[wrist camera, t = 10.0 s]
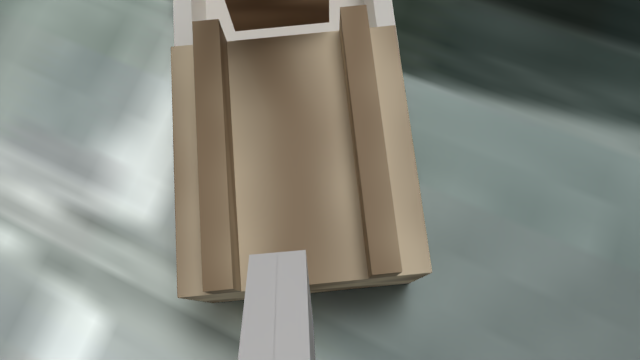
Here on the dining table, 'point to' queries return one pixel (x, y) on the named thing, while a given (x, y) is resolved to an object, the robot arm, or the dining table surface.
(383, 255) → the launcher
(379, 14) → the tray
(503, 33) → the dining table surface
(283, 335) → the robot arm
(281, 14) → the plunger
